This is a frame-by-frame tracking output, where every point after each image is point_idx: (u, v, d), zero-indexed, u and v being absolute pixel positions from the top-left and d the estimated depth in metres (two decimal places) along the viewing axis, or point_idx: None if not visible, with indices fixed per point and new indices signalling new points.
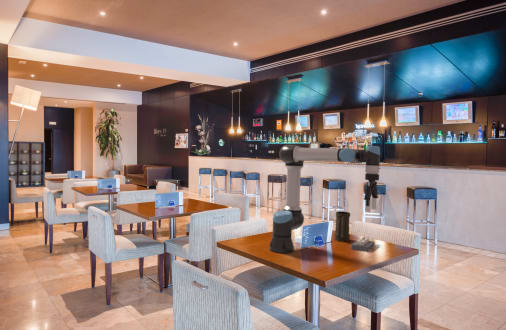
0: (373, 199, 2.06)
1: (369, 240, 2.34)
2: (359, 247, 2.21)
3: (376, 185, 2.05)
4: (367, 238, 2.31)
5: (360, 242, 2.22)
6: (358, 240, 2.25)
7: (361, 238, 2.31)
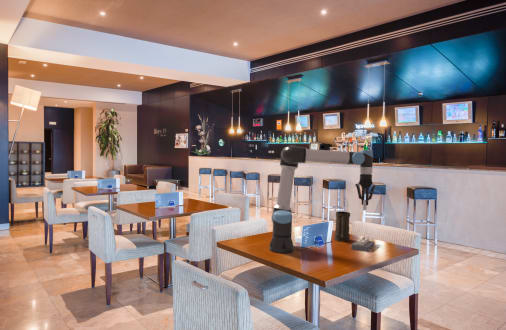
0: None
1: (369, 240, 2.34)
2: (359, 247, 2.21)
3: (372, 188, 2.24)
4: (367, 238, 2.31)
5: (360, 242, 2.22)
6: (358, 240, 2.25)
7: (361, 238, 2.31)
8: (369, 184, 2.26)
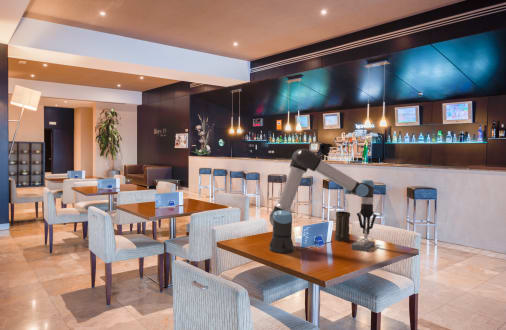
0: None
1: None
2: (359, 247, 2.21)
3: (373, 217, 2.29)
4: (367, 240, 2.31)
5: (360, 242, 2.22)
6: (358, 240, 2.25)
7: (361, 238, 2.31)
8: (370, 214, 2.31)
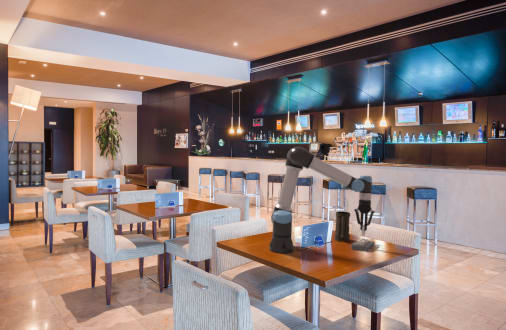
0: None
1: None
2: (359, 247, 2.21)
3: (371, 213, 2.26)
4: (367, 240, 2.31)
5: (360, 242, 2.22)
6: (358, 240, 2.25)
7: (361, 238, 2.31)
8: (368, 210, 2.27)
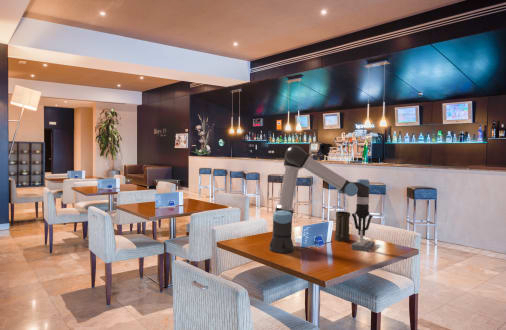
0: None
1: None
2: (359, 247, 2.21)
3: (369, 218, 2.20)
4: (367, 240, 2.31)
5: (360, 242, 2.22)
6: (359, 240, 2.25)
7: None
8: (366, 214, 2.21)
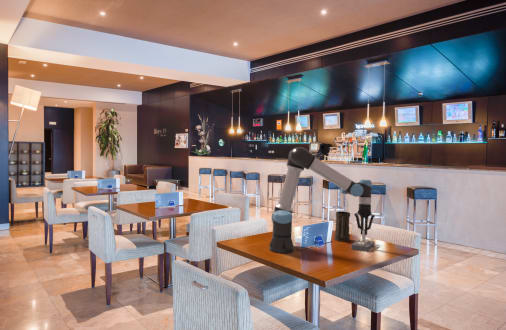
0: None
1: None
2: (359, 247, 2.21)
3: (371, 218, 2.25)
4: (367, 240, 2.31)
5: (360, 244, 2.22)
6: (358, 242, 2.25)
7: None
8: (368, 214, 2.26)
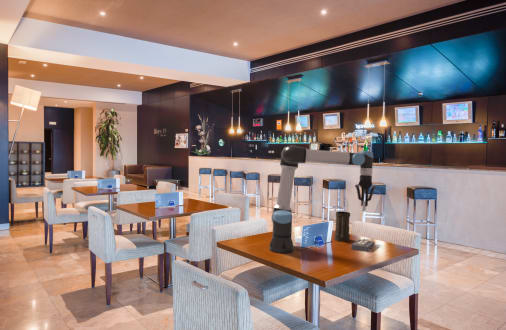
0: None
1: None
2: (359, 247, 2.21)
3: (372, 189, 2.24)
4: (367, 240, 2.31)
5: (360, 244, 2.22)
6: (358, 242, 2.25)
7: (361, 240, 2.31)
8: (369, 185, 2.26)
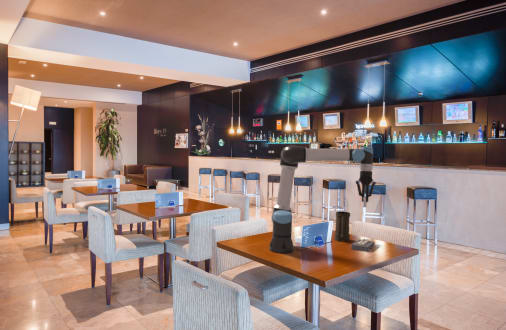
0: None
1: None
2: (359, 247, 2.21)
3: (372, 184, 2.24)
4: (367, 240, 2.31)
5: (360, 244, 2.22)
6: (358, 242, 2.25)
7: (361, 240, 2.31)
8: (369, 181, 2.25)
